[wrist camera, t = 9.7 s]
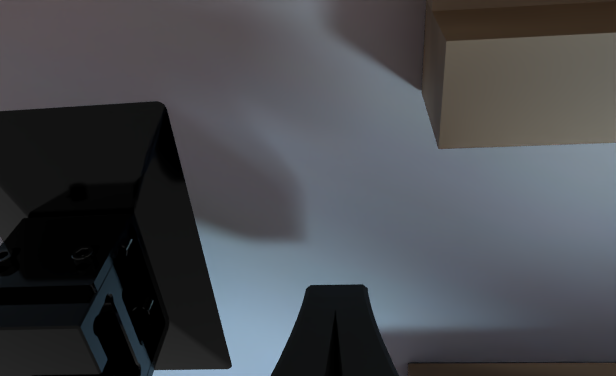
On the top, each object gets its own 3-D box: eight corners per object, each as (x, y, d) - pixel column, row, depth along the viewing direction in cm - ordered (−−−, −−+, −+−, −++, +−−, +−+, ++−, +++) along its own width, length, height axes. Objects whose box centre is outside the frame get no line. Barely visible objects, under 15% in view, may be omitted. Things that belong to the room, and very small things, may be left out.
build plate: (263, 379, 19) (242, 521, 15) (65, 381, 20) (-3, 517, 16) (187, 30, 12) (113, 130, 8) (-117, 52, 13) (-316, 154, 9)
